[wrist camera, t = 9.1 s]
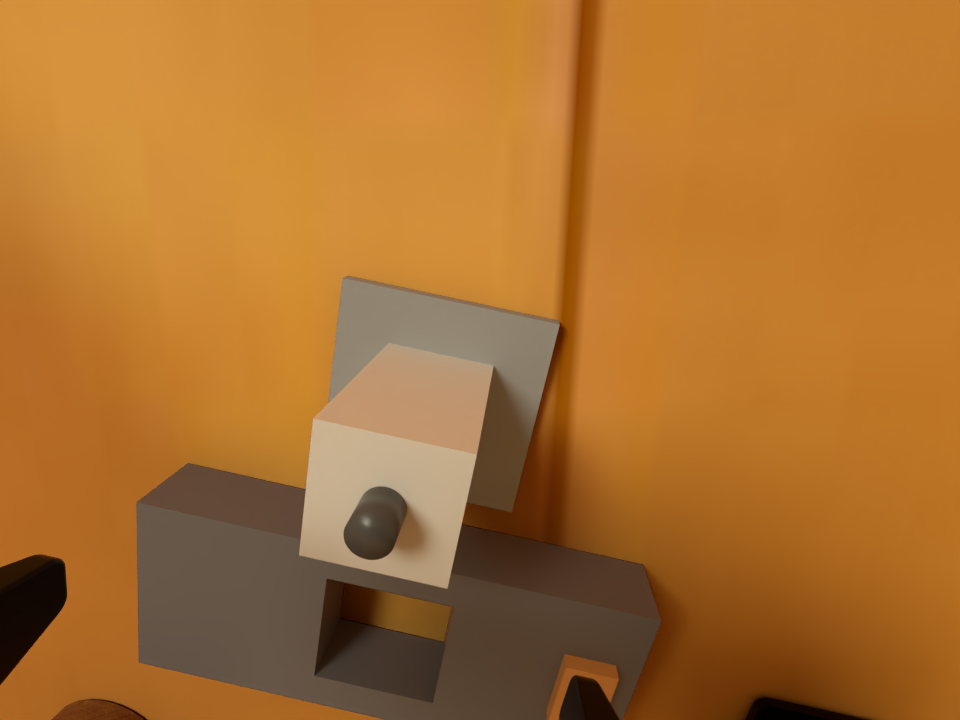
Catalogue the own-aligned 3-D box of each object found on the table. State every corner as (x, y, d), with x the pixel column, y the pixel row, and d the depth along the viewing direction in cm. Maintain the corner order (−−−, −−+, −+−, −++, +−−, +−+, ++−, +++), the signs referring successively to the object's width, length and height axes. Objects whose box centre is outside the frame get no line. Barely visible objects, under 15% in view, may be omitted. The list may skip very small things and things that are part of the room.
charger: (493, 365, 19) (472, 481, 11) (472, 460, 20) (440, 625, 12) (388, 343, 19) (290, 441, 11) (374, 438, 20) (277, 588, 12)
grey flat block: (643, 564, 21) (666, 633, 18) (593, 701, 24) (605, 785, 20) (187, 463, 22) (124, 511, 18) (184, 608, 24) (128, 674, 21)
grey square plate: (558, 320, 18) (559, 324, 18) (512, 504, 21) (511, 512, 20) (348, 275, 19) (342, 277, 18) (326, 462, 21) (320, 469, 20)
